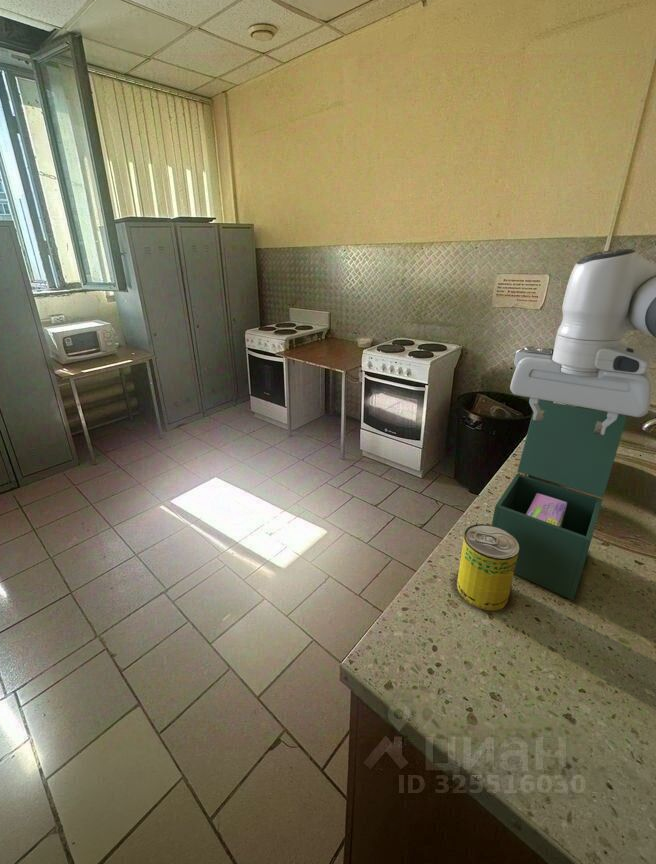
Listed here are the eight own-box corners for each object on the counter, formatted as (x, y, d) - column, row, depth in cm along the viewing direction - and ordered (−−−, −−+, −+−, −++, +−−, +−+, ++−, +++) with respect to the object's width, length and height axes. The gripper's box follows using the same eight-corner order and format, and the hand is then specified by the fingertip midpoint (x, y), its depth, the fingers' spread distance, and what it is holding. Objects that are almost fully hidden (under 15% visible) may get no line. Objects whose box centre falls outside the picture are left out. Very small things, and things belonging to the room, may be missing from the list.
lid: (626, 416, 77) (626, 416, 77) (536, 399, 86) (537, 399, 87) (603, 497, 78) (603, 497, 79) (517, 471, 88) (517, 471, 89)
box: (526, 536, 88) (536, 492, 84) (556, 548, 84) (568, 502, 80) (514, 563, 81) (524, 516, 76) (546, 577, 77) (558, 528, 73)
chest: (573, 600, 73) (591, 540, 68) (485, 560, 83) (495, 505, 78) (586, 553, 84) (602, 499, 79) (507, 523, 94) (517, 473, 89)
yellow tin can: (512, 615, 70) (524, 563, 66) (458, 604, 73) (466, 552, 69) (503, 577, 78) (513, 528, 74) (455, 568, 81) (462, 520, 77)
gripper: (511, 348, 71) (500, 418, 76) (662, 365, 58) (637, 448, 63) (521, 341, 75) (510, 408, 80) (663, 356, 62) (640, 435, 67)
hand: (567, 426), depth 72 cm, fingers open, 8 cm apart
